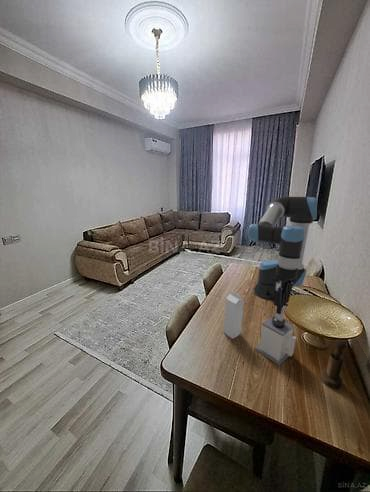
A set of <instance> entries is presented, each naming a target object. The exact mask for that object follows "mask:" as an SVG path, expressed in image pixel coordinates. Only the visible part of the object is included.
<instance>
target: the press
mask: <svg viewBox="0 0 370 492" xmlns="http://www.w3.org/2000/svg"><path fill="white" fill-rule="evenodd" d="M274 316H275V315H271V317H269V318H268V319H266V320H265V321H264V322H262V323H261V324H262V325H261V332H260V339H259V345H258V346H256V347H255V351H257V352H258V353H260V354H261V355H263V356H264V357H266V358H267V359H269V360H270V361H271V362H273V363H274V364H276V365H278V366H279V367H280V366H281V365H282V364H283V363H284V362H285V361H286V360H287V359H288V358H289V357H293V355H294V351H295V345H296V342H297V337H296V336H295V335H293V331H294V325H293V324H291V323H289V322H287V321H285V326H284V328H276V327H274V326H273V325H272V317H274Z"/></svg>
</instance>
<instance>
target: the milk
mask: <svg viewBox="0 0 370 492" xmlns="http://www.w3.org/2000/svg"><path fill="white" fill-rule="evenodd" d="M224 303H225V305H224V307H225V308H224V315H223V316H224V318H223V331H222V332H223V334H225V335H226V336H227V337H229V338H231V339H232V340H233V339H236V338H237V337H238V336H240V335H241V334H242V333H241V331H242V322H243V313H244V304H245V300H244V299H243V298H241V295H240V294H238V293H237V292H235V291H233V290H230V292H229V294H228V295H227V297H226V298H225V302H224Z"/></svg>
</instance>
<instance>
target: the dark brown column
mask: <svg viewBox="0 0 370 492" xmlns="http://www.w3.org/2000/svg"><path fill="white" fill-rule="evenodd" d="M334 344H335V345H334V346H335V347H336V348H335V349H334V350H333V351H334V352H331V353H330V354H329V358H328V362H327V367H326V368H324V369H322V370H321V373H320V380H321V381H322V382H323V384H325V386H327V387H329V388H331V389H334V390H339V389H341V388H342V385H343V378H342V377H341V375H340V374H341V371H342V367H343V363H344V357H343V356H342V354H343V352H342V350H344V349H345V348H346V342H345V341H344V340H342V339H340V338H339V339H336V340H335V343H334Z"/></svg>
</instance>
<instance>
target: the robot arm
mask: <svg viewBox="0 0 370 492" xmlns="http://www.w3.org/2000/svg"><path fill="white" fill-rule="evenodd" d="M317 210H318V199H317V198H316V197H311V196H289V195H287V196H280V197H277V198H275V199H274V200H272V201H271V202H269V204H268V205H267V206H266V208H265V212H264V214H263V216H261V219H260V220H259V222H258V223H251V224H250V225H249V227H248V230H247V238H248V240H250V241H252V242H253V241H254V242H260V243H268V244H274V245H279V251H278V255H277V259H266V260H265V259H264V260H262V261H261V262H260V263H259V267H258V277H257V282H256V285H254V288H253V293H254V295H256V296H257V297H259V298H262V299H265V300H273V302H274V303H273V305H274V306H275V307H276V309H275V314H274V316H275V319H277V320H279V321H282V320H283V318H284V315H285V309H286V307H288V306H289V304H288V303H289V302H290V297H291V294H292V290H293V287H301V286H302V285H303V283H304V280H305V277H306V274H307V268H305V265H304V264H303V260H304V256H305V250H306V249H305V248H306V243H307V238H308V232H309V227H310V225H311V224H313V223H314V221H315V220H317V217H318V216H317V213H318V211H317ZM280 218H289V222H290V223H291V225H285V226H277V223H278V222H279V220H280Z"/></svg>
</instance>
